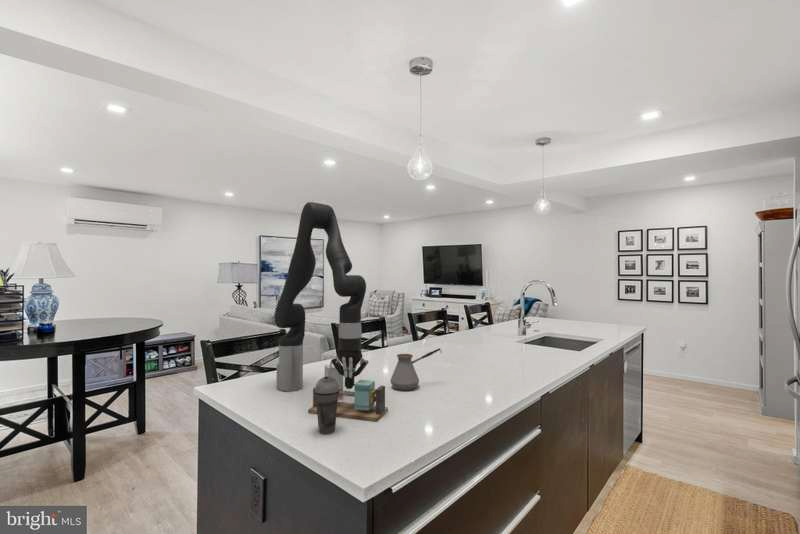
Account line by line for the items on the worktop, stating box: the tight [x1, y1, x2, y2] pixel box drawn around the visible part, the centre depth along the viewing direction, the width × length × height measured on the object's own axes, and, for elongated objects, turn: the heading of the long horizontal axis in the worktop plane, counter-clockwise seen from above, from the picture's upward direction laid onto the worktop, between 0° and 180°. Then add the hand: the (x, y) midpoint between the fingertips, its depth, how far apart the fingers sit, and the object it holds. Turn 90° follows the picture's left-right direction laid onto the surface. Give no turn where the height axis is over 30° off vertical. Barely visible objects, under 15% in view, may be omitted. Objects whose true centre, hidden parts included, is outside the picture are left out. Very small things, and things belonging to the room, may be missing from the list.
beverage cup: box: [314, 361, 340, 435], centre depth 113 cm, size 7×7×20 cm
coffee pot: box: [390, 347, 443, 391], centre depth 156 cm, size 21×12×15 cm, turn 104°
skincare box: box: [324, 363, 344, 400], centre depth 142 cm, size 6×4×12 cm
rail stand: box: [307, 385, 389, 423], centre depth 128 cm, size 24×10×9 cm, turn 72°
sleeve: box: [353, 379, 376, 410], centre depth 126 cm, size 5×5×8 cm
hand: (349, 388), depth 128 cm, fingers closed
